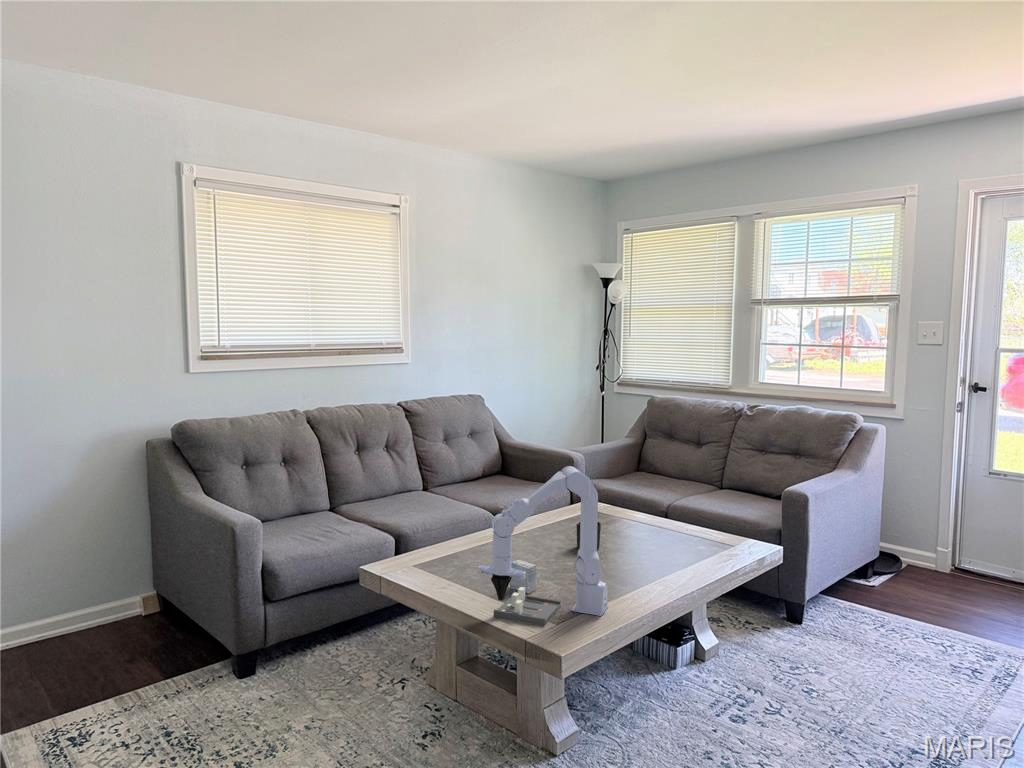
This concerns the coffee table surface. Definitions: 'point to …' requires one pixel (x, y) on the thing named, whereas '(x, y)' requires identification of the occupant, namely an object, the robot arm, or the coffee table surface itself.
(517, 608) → the block
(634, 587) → the coffee table surface
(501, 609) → the breaker panel
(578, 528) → the pen holder
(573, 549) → the coffee table surface
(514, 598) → the block
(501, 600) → the robot arm
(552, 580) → the coffee table surface
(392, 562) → the coffee table surface
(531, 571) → the medicine box
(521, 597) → the breaker
